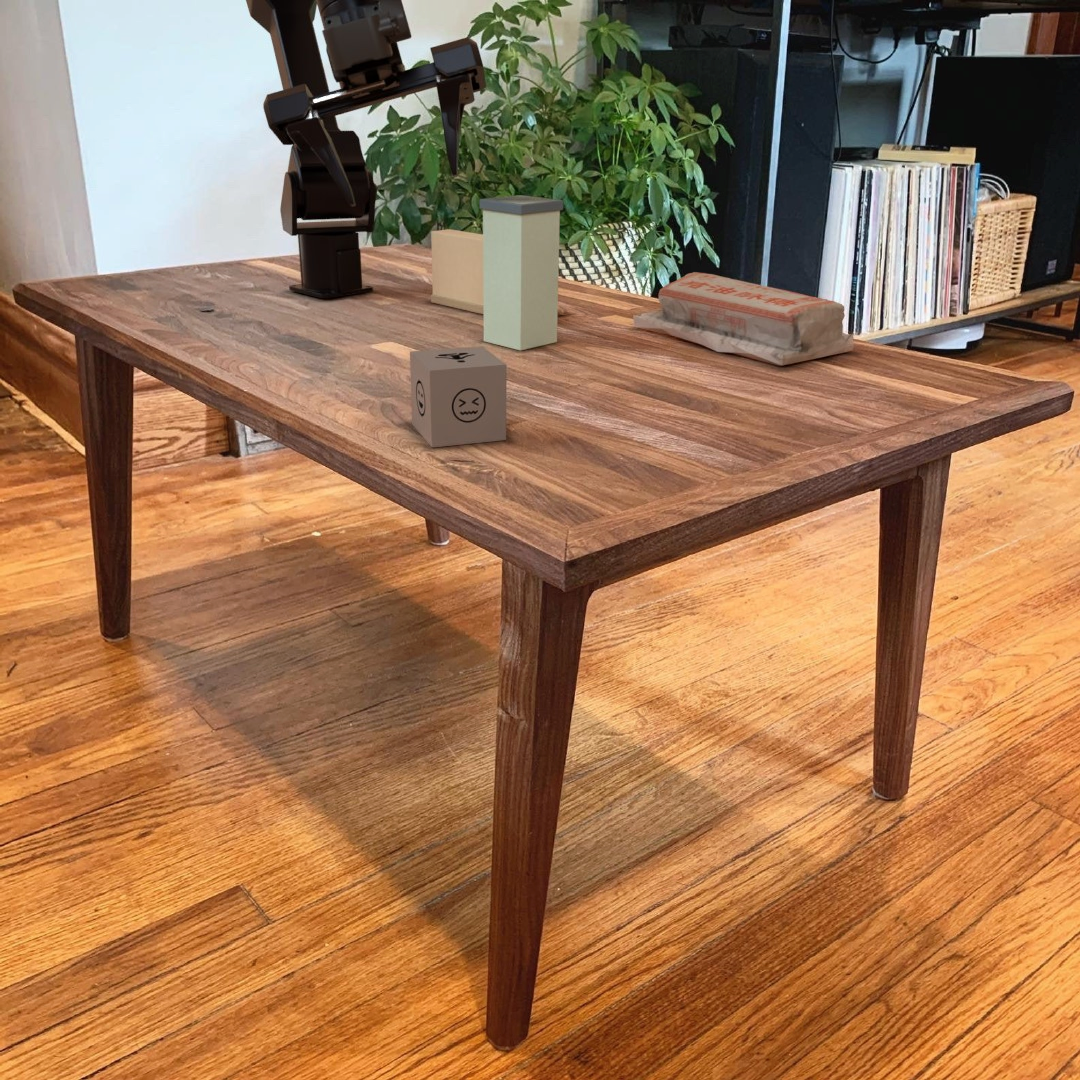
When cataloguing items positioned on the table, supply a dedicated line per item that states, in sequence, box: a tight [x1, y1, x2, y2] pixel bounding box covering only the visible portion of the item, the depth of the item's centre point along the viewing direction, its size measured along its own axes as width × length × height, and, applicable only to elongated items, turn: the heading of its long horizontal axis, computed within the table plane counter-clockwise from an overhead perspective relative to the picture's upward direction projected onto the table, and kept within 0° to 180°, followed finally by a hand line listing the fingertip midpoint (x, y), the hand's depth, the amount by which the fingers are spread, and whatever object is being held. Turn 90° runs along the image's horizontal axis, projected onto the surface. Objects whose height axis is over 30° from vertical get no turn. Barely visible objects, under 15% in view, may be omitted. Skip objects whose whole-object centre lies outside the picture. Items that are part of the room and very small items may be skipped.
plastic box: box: [479, 194, 564, 351], centre depth 92 cm, size 5×5×12 cm
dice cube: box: [409, 346, 508, 448], centre depth 70 cm, size 5×5×5 cm
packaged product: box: [632, 271, 855, 366], centre depth 95 cm, size 18×5×10 cm
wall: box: [430, 228, 484, 315], centre depth 106 cm, size 13×5×7 cm, turn 46°
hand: (403, 190), depth 93 cm, fingers open, 9 cm apart
